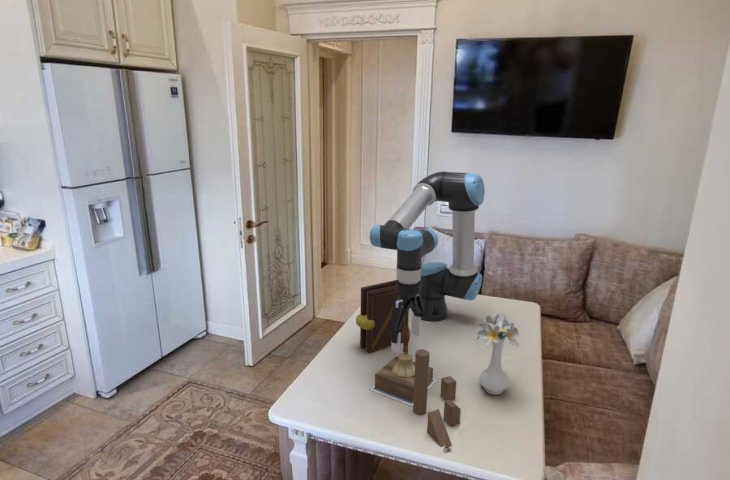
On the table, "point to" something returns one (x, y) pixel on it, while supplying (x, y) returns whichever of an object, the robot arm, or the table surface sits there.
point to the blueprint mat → (397, 396)
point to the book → (377, 316)
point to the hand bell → (404, 358)
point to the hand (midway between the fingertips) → (406, 342)
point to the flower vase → (496, 351)
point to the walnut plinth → (397, 381)
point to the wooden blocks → (447, 393)
